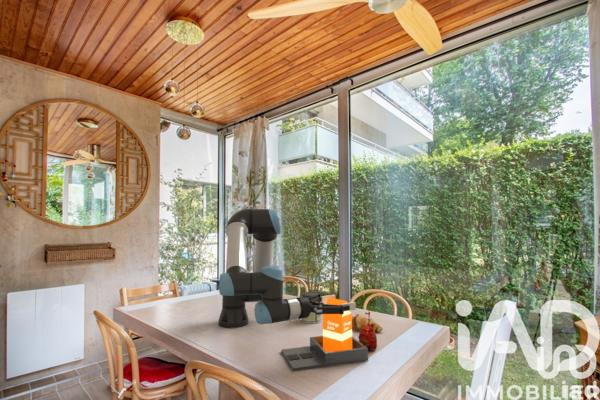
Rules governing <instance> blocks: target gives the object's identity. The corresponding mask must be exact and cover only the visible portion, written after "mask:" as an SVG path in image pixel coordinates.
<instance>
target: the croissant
mask: <svg viewBox="0 0 600 400" xmlns="http://www.w3.org/2000/svg"><path fill="white" fill-rule="evenodd" d="M368 319H369V318H367V317H366V315H363V314H358V313H356V315H355V316H353V315H352V331H353V330H354V331H359V332H360V331H361V329H362V326H363V325H365V326H367V325H368V322H369V323H370V326H371V327H373V329H374V331H375V333H379V332H383V330H384V329H383V327H382V326H381V325H380V324H379V323H377V322H375V321H374V319H372V318H370V321H369V320H368Z"/></svg>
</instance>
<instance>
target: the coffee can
mask: <svg viewBox="0 0 600 400" xmlns="http://www.w3.org/2000/svg"><path fill="white" fill-rule="evenodd" d="M318 294H320V295H321V296H322V293H320V292H318V291H305V292H302V293H301V297H306V298H309V297H312V296H315V295H316V296H318ZM301 321H302V322H303V323H305V324H309V325H310V324H318V323H319V324H320V323H321V322H322V314H320V315H317V314H316V313H312V312H311V313H310V315H309V317H307V318H302V319H301Z"/></svg>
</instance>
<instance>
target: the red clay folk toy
mask: <svg viewBox="0 0 600 400" xmlns="http://www.w3.org/2000/svg"><path fill="white" fill-rule="evenodd" d="M364 314H365V315H364V316H366V315H368V318H367V319H368V320H369V321H370V319H371V318H370V317H371V310H368V312H367V311H366V312H365V311H364ZM377 336H378V335H377V334H376V331H374V329H373V327H371V326H370V323H369V322H368V325H367V326H365V325H363V326H362V329H361V331H359V334H358V339H359V340H358V341H359V342H360V343H362V344H363V345H364V346H366V347H367V348H368V352H374V350H376V349H377V346H378V338H377Z"/></svg>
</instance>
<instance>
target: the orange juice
mask: <svg viewBox="0 0 600 400" xmlns="http://www.w3.org/2000/svg"><path fill="white" fill-rule="evenodd" d="M344 303H348V302H347V300H343V299H338V298H335V299H333V298H328V300H327V303H325V304H332V305H340V304H344ZM352 316H353V313H352V310H351V311H344V314H342V315H341V314H322V336H323V349H324V350H325V351H326V352H332V351H340V350H348V349H352V337H353V329H352Z"/></svg>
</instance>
